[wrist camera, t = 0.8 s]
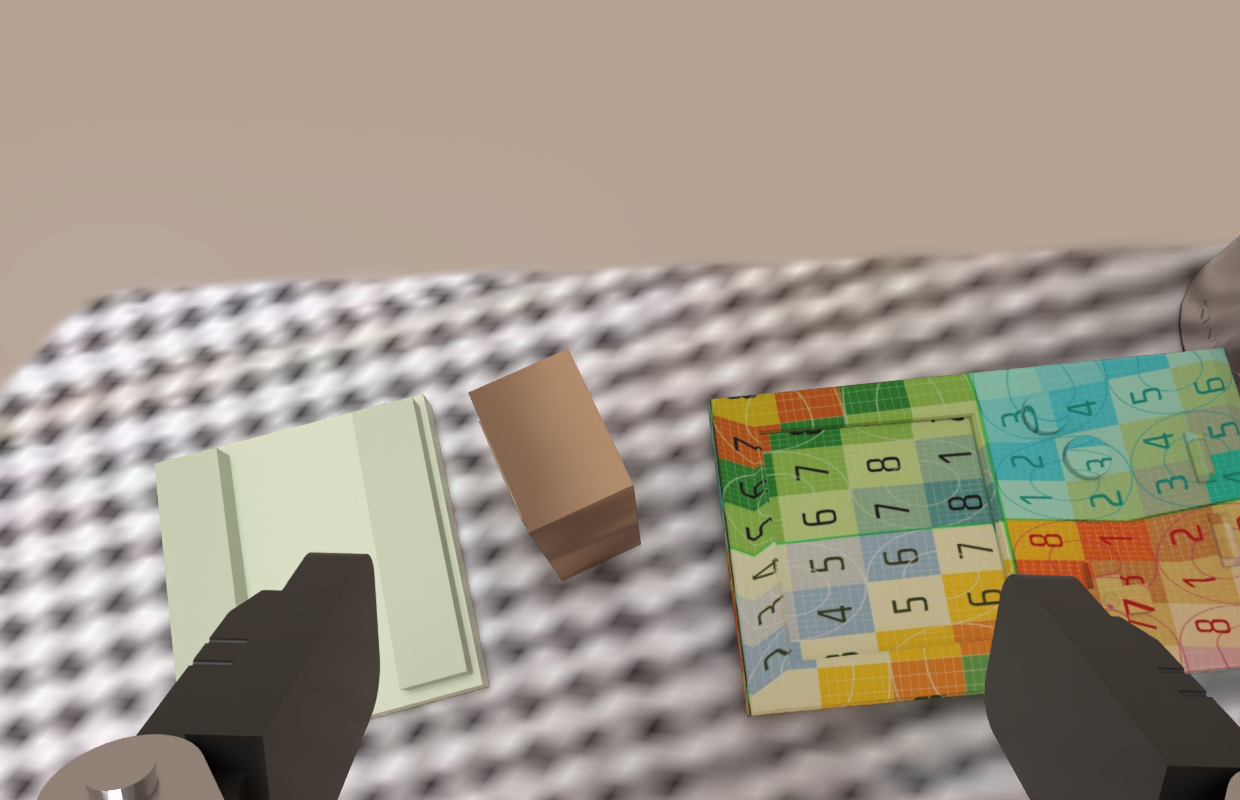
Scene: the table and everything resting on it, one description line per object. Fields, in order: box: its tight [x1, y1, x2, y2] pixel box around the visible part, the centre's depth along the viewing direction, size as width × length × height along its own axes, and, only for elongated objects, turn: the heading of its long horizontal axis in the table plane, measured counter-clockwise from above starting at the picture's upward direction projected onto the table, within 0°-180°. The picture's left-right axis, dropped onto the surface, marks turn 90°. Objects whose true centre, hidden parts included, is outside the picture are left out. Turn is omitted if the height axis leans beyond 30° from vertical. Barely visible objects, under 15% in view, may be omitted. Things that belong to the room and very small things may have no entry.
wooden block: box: [469, 349, 641, 581], centre depth 34 cm, size 4×5×10 cm
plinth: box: [155, 394, 489, 719], centre depth 37 cm, size 11×12×3 cm
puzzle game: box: [708, 348, 1240, 716], centre depth 36 cm, size 12×5×20 cm
